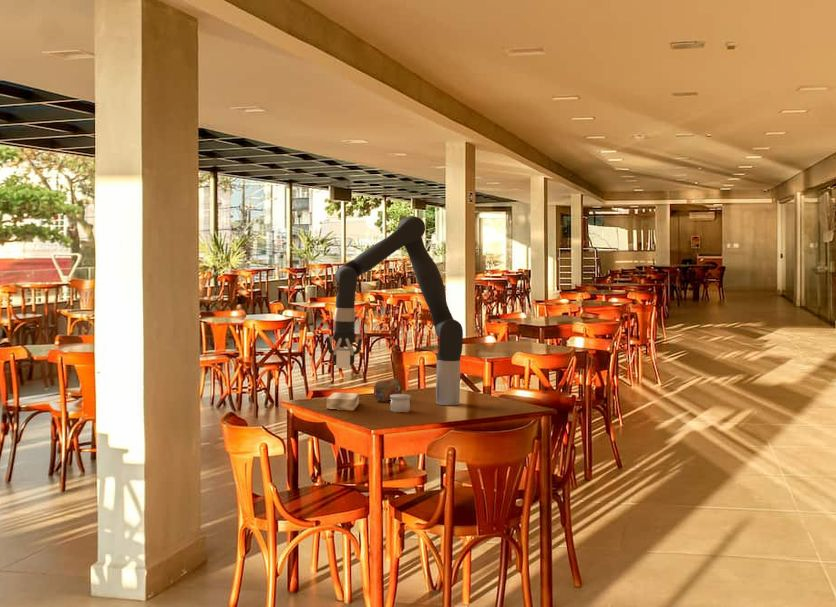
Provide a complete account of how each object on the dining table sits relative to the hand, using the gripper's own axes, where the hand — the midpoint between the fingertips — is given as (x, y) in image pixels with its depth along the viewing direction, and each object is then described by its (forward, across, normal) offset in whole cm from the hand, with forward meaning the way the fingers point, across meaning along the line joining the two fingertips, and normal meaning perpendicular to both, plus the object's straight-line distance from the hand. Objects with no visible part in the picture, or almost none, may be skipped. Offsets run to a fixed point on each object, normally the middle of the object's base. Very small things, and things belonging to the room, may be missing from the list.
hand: (343, 364), depth 352 cm
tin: (+16, -15, -19) cm, 29 cm away
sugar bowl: (+16, -22, +6) cm, 28 cm away
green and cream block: (+1, 0, 0) cm, 1 cm away
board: (+16, 0, 0) cm, 16 cm away
